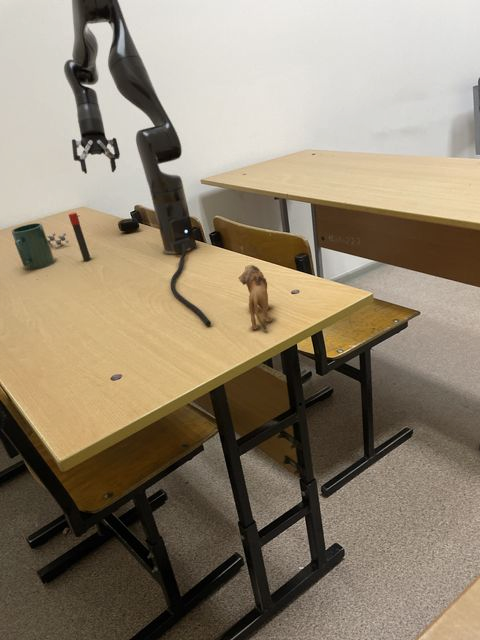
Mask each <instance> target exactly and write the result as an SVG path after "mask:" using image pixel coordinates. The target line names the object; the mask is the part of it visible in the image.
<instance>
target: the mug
mask: <svg viewBox="0 0 480 640" xmlns="http://www.w3.org/2000/svg"><path fill="white" fill-rule="evenodd" d="M10 232H11V235H12V237H13V240H14V245H15V247H16V250H17V252H18V255H19V257H20V260H21V264H22V266H24V268H25V270H38V269H42V268H46V267H48V266H50V265H52V264H54V263H55V257H54V255H53V252H52V249H51V246H50V245H49V243H48V240H49V239H48V237H47V235H46V232H45V229H44V226H43V223H40V222H35V223H28V224H23V225H21V226H17V227H15V228H13V229H11V231H10Z"/></svg>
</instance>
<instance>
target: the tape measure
mask: <svg viewBox="0 0 480 640" xmlns="http://www.w3.org/2000/svg"><path fill="white" fill-rule="evenodd" d="M117 226H118V229H119V231H120V232H122V233H126V234H127V233H130V232H133V231H136V230H138V229H140V223H139V221H138V219H137V218H136V217H130V218H124V219H121V220H119V221H118V223H117Z"/></svg>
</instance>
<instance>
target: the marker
mask: <svg viewBox="0 0 480 640" xmlns="http://www.w3.org/2000/svg"><path fill="white" fill-rule="evenodd" d="M68 217H69V221H70V224H71V226H72V229H73V233H74V235H75V239H76V242H77V245H78V248H79V251H80V253H81V256H82V260H83V262H88V261H91V259H92V257H91V255H90V251H89V249H88V246H87V242H86V239H85V237H84V233H83V230H82V227H81V223H80V219H79V215H78V213H77V212H71V213H68Z"/></svg>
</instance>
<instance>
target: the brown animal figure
mask: <svg viewBox="0 0 480 640" xmlns="http://www.w3.org/2000/svg"><path fill="white" fill-rule="evenodd" d="M238 280H239V282H240V283H241V284H242V286H244V285H246V287H247V290H248V293H249V296H248V309H249V314H250V315H249V316H250V322H251V329H252V330H257V329H258V327H259V326H258V325H257V322H256V321H258V323H259V324H260V326H261V328H262V329H263V330H264V331H267V330H268V327H267V326H266V324H264V322H263V321H262V319H261V316H260V312H259V308H260V310H261V311H262V312H263V318H264V319H265V321H266V322H267V323H268V322H269V323H270V322H272V321H273V318H272V317H271V316H269V312H268V310H269V309H270V308H271V306H270V305H269V294H268V282H267V279H266V277H265V276H264V273H263V272H262V271H261V269H260V268H259V267H258V266H256V265H254V264H249V265H246V266H245V267H244V271H243V272H242V274H241V275H240V276H238ZM256 319H257V320H256Z"/></svg>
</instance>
